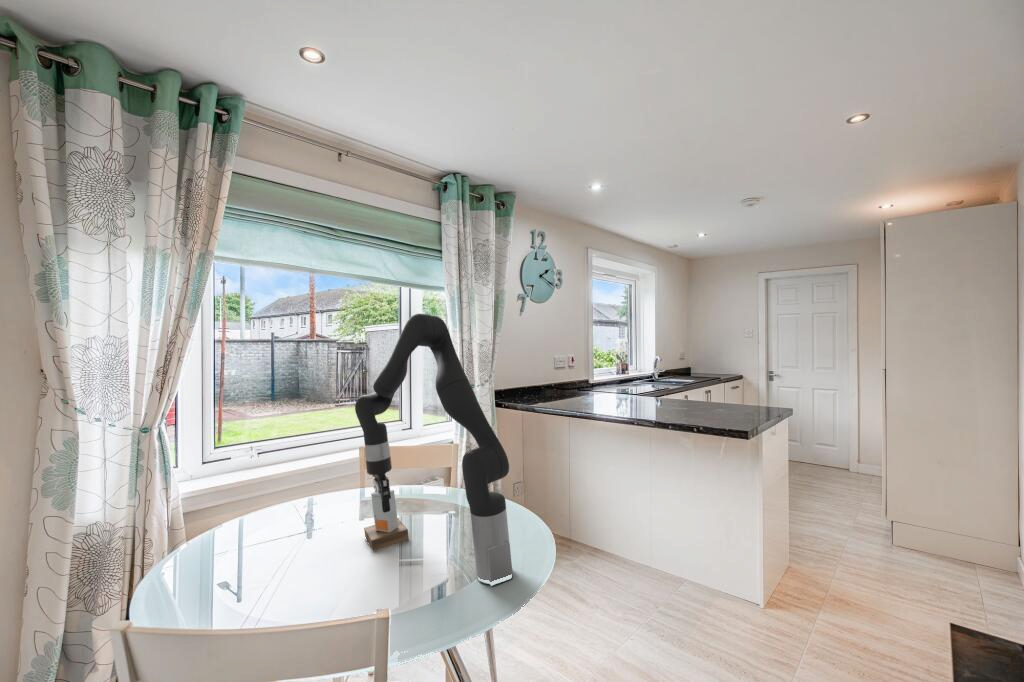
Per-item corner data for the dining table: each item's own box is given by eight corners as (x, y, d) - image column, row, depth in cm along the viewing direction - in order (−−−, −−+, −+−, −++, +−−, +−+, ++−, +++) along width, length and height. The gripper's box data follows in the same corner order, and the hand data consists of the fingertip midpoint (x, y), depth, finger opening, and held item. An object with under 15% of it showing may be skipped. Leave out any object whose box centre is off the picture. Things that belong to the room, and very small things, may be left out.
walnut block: (409, 541, 142) (407, 529, 142) (373, 553, 137) (371, 540, 137) (399, 529, 152) (398, 517, 152) (365, 540, 147) (364, 528, 146)
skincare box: (375, 531, 143) (370, 493, 143) (384, 525, 147) (380, 488, 147) (389, 533, 140) (385, 494, 140) (399, 527, 144) (394, 489, 144)
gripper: (395, 458, 139) (401, 511, 139) (385, 449, 151) (390, 497, 152) (369, 464, 135) (375, 518, 136) (361, 454, 148) (367, 503, 148)
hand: (383, 507), depth 144 cm, fingers open, 8 cm apart
